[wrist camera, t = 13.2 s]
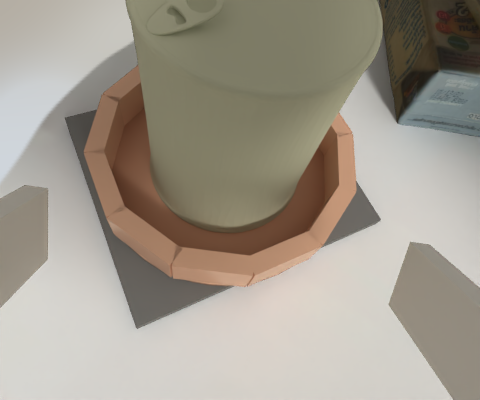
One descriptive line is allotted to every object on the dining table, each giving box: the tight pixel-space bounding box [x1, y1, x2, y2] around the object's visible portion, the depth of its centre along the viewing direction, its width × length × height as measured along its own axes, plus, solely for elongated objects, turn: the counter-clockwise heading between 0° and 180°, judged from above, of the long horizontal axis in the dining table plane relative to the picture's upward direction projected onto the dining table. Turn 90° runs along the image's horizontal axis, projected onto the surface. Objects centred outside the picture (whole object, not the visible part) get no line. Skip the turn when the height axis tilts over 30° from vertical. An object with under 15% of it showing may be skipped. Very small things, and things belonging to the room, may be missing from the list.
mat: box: [65, 110, 381, 329], centre depth 24 cm, size 16×14×1 cm
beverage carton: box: [380, 0, 480, 136], centre depth 30 cm, size 8×19×7 cm, turn 175°
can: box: [126, 0, 383, 233], centre depth 18 cm, size 9×9×12 cm
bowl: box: [84, 65, 357, 287], centre depth 22 cm, size 15×15×3 cm
